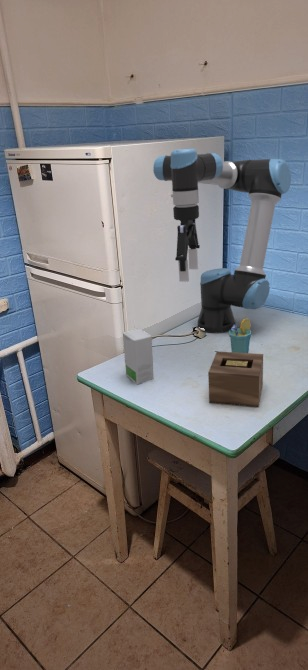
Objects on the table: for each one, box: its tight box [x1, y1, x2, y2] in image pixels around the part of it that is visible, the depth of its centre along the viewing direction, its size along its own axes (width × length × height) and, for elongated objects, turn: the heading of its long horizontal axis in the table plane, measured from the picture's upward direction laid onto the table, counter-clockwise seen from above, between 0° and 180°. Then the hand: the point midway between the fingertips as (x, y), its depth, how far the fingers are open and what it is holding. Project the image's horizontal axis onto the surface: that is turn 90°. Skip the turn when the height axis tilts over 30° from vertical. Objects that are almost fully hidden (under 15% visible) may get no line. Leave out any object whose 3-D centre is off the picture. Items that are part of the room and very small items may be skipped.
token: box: [226, 360, 248, 368], centre depth 138 cm, size 3×6×9 cm, turn 73°
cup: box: [228, 318, 252, 353], centre depth 156 cm, size 14×8×15 cm, turn 150°
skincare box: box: [122, 327, 154, 385], centre depth 151 cm, size 8×7×16 cm
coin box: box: [207, 351, 264, 408], centre depth 138 cm, size 14×14×10 cm
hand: (189, 275), depth 147 cm, fingers open, 13 cm apart
